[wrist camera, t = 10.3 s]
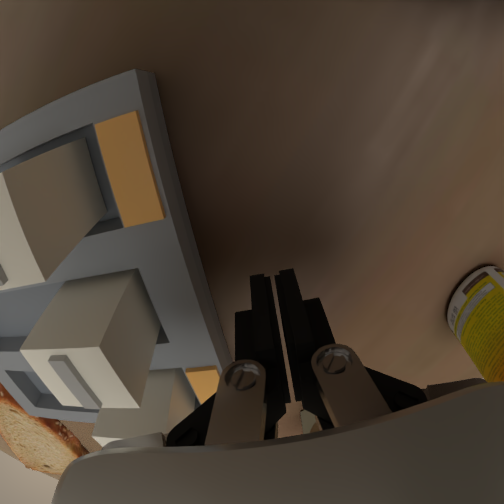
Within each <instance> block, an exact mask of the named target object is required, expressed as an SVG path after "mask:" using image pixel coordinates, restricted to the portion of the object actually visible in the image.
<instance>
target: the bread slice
mask: <svg viewBox="0 0 504 504" xmlns="http://www.w3.org/2000/svg"><path fill="white" fill-rule="evenodd" d="M0 434H1V435H2V437H3V438H4V440H5V441H6V442H7V444H8V445H9V446H10V448H11V449H12V451H13V452H14V453H15V454H16V455H17V456H18V458H19V460H20V461H21V462H22V463H23V464H24V465H25V466H26V468H31V469H32V470H37V471H41V472H48V473H51V474H60V475H62V473H63V471H64V470H65V468H66V467H67V466H68V465H69V463H71V462H72V461H73V460H75V459H77V458H79V457H81V456H83V455H86V454H89V452H88V451H87V450H86V449H85V448H84V447H83V446H82V445H81V443H80V441H79V440H78V439H77V438H76V437H75V436H74V435H73V433H72V432H71V431H69V430H68V429H67V428H66V427H65V426H64V425H63V424H62V423H61V422H60V421H59V420H58V419H51V418H44V417H37V416H31V415H29V414H28V413H27V412H26V411H25V410H24V409H23V408H22V407H21V406H20V405H19V403H18V402H17V401H16V400H15V399H14V398H13V397H12V396H11V394H10V393H9V392H8V391H7V390H6V389H5V387H4V386H3V385H2V384H1V382H0Z"/></svg>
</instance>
